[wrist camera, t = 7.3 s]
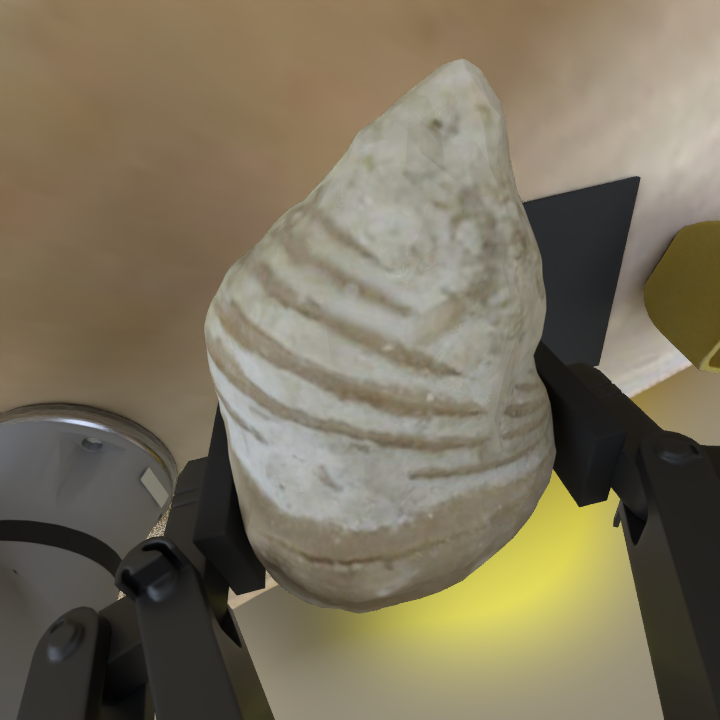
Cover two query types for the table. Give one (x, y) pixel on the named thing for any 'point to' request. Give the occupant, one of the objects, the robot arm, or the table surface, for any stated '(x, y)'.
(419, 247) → the seashell
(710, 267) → the flower pot
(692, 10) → the table surface
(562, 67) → the table surface
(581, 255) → the mat
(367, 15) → the table surface
